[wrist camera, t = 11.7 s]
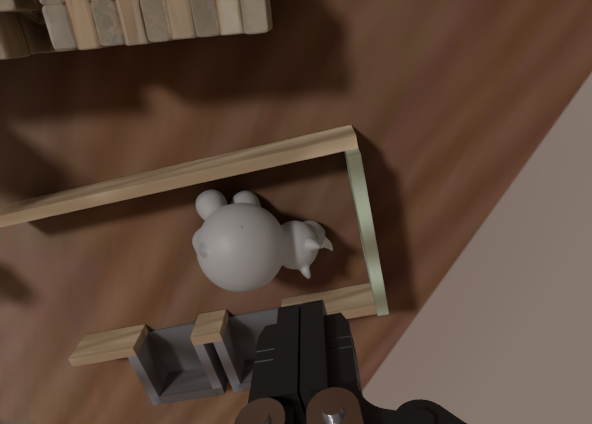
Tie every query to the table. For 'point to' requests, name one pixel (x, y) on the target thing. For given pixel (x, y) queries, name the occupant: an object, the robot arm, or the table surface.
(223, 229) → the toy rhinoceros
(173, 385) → the trap channel
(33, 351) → the table surface
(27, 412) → the table surface
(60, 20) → the block tower
